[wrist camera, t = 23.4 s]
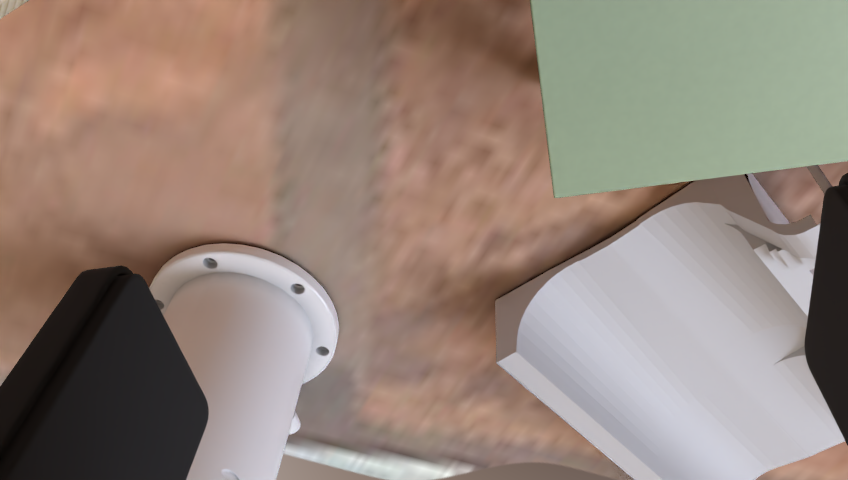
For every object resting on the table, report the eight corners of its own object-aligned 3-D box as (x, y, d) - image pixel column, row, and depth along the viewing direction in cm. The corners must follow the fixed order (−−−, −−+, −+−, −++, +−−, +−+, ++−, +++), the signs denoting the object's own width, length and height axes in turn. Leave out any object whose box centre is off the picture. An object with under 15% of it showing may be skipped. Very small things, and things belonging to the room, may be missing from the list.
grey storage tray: (494, 298, 47) (494, 397, 40) (819, 100, 37) (888, 189, 31) (702, 487, 57) (728, 591, 51) (999, 370, 47) (1079, 479, 41)
